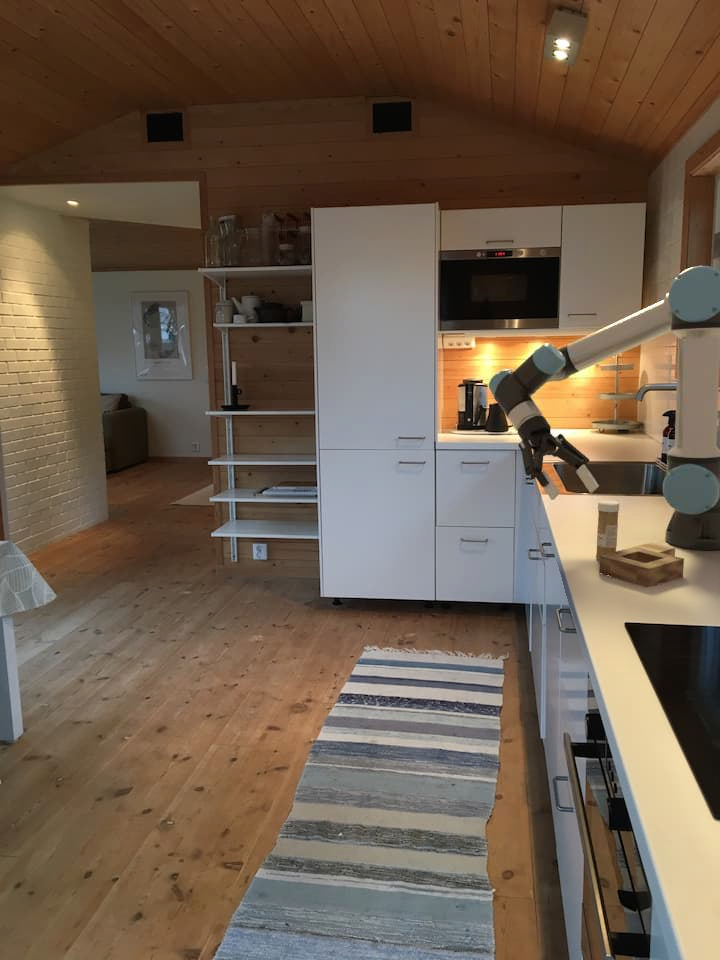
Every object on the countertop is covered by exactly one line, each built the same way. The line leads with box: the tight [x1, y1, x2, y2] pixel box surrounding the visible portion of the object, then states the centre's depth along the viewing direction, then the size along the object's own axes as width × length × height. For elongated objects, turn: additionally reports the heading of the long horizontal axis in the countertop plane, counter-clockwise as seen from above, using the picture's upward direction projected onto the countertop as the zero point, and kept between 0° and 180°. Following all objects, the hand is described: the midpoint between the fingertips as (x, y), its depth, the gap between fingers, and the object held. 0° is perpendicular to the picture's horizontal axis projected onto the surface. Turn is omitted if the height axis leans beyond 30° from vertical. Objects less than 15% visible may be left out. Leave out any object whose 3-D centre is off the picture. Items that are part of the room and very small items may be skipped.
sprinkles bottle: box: [595, 499, 620, 561], centre depth 173 cm, size 5×5×13 cm
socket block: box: [598, 546, 685, 588], centre depth 162 cm, size 12×12×4 cm
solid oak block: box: [634, 542, 676, 557], centre depth 170 cm, size 6×6×4 cm
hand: (575, 493), depth 179 cm, fingers open, 13 cm apart
